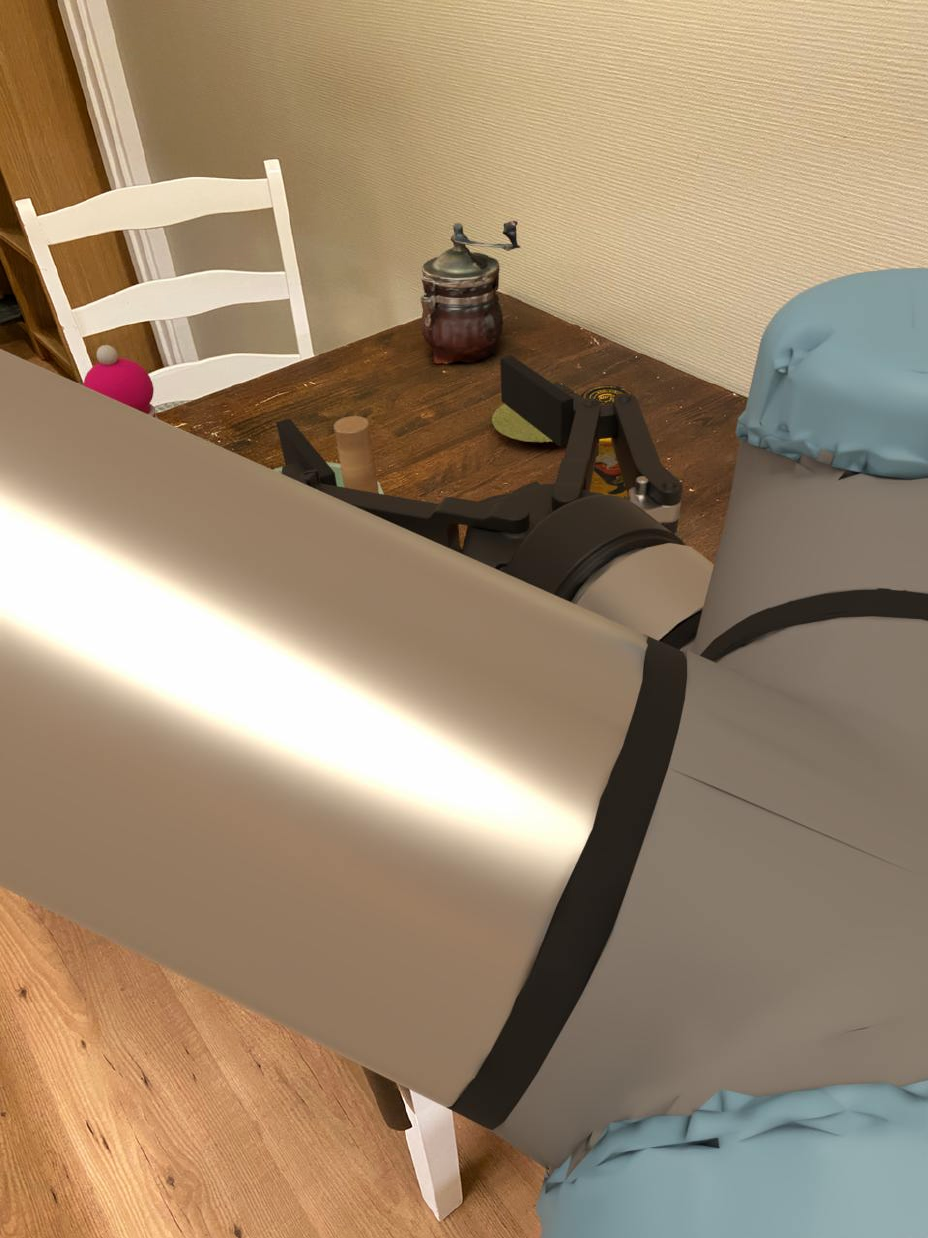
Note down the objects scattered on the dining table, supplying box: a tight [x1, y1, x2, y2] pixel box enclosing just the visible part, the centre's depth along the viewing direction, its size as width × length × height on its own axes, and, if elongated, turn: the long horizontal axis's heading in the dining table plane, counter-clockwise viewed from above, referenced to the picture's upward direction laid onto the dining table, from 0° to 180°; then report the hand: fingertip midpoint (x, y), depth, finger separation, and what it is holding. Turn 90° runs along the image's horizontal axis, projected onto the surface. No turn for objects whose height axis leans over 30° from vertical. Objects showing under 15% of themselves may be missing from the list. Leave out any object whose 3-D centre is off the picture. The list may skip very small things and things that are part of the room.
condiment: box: [580, 384, 634, 500], centre depth 86 cm, size 7×8×12 cm
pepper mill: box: [83, 344, 159, 419], centre depth 84 cm, size 7×7×20 cm
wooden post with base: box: [333, 415, 379, 494], centre depth 67 cm, size 6×6×22 cm
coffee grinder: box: [420, 220, 521, 365], centre depth 113 cm, size 13×15×18 cm
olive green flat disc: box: [491, 403, 554, 443], centre depth 101 cm, size 11×11×2 cm
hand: (401, 408), depth 50 cm, fingers open, 13 cm apart
